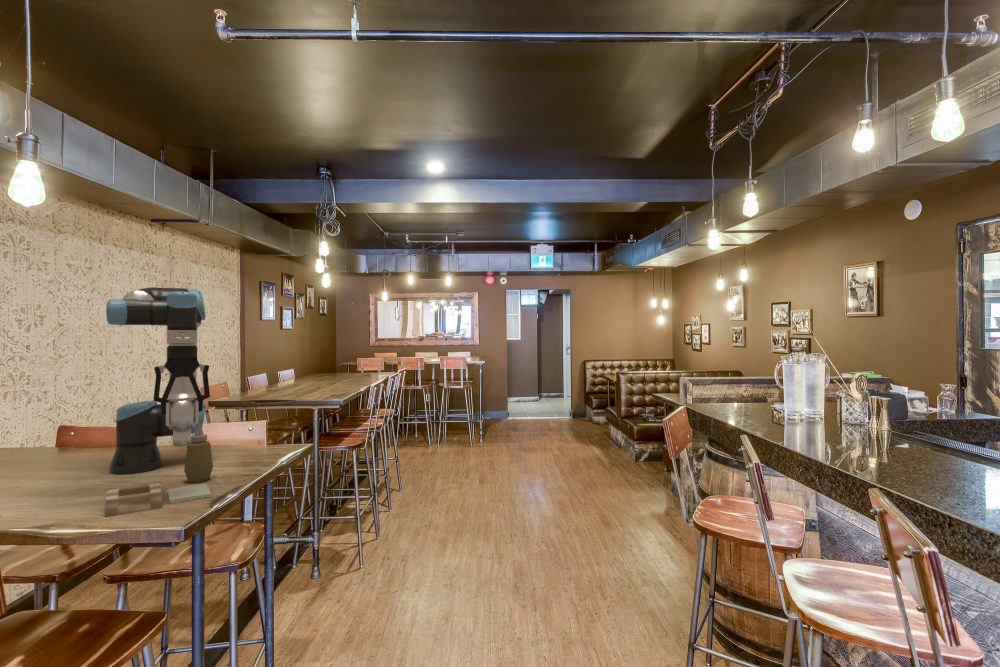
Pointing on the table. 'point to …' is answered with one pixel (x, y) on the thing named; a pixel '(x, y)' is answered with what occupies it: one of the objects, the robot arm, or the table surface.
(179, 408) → the metal cylinder
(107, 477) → the table surface
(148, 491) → the bore block
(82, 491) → the table surface
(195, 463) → the squeeze bottle
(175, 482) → the table surface
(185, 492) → the mat
